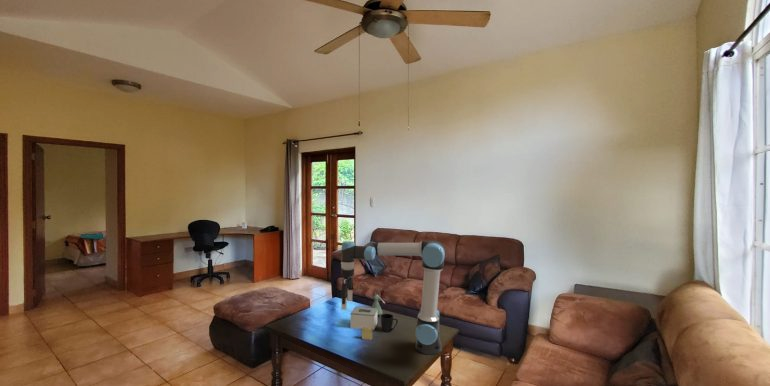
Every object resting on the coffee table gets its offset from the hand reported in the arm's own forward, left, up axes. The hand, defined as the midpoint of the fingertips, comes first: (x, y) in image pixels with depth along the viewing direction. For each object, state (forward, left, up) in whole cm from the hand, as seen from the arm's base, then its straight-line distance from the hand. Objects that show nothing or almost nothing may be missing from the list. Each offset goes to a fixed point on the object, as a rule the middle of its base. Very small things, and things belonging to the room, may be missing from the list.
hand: (347, 305), depth 187 cm
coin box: (-3, -33, -26) cm, 42 cm away
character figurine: (-7, -51, -26) cm, 58 cm away
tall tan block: (-9, -15, -26) cm, 31 cm away
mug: (-21, -28, -26) cm, 44 cm away
